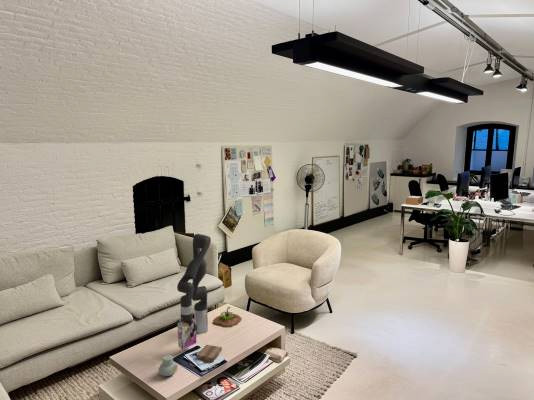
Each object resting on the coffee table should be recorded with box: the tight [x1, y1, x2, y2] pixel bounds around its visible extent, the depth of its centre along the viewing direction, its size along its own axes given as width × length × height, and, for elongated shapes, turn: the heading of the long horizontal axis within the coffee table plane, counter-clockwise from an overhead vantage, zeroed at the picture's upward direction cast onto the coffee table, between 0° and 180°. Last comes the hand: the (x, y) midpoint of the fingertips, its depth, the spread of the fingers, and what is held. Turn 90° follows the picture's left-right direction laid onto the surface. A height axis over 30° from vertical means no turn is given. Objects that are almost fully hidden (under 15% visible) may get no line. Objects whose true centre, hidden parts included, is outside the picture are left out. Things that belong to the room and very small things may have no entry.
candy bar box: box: [177, 318, 197, 350], centre depth 243 cm, size 11×5×16 cm, turn 135°
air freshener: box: [158, 354, 179, 377], centre depth 221 cm, size 11×8×10 cm
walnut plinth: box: [196, 344, 223, 363], centre depth 240 cm, size 11×13×3 cm
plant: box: [212, 306, 242, 328], centre depth 286 cm, size 20×20×11 cm
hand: (187, 335), depth 243 cm, fingers closed on candy bar box, 6 cm apart
